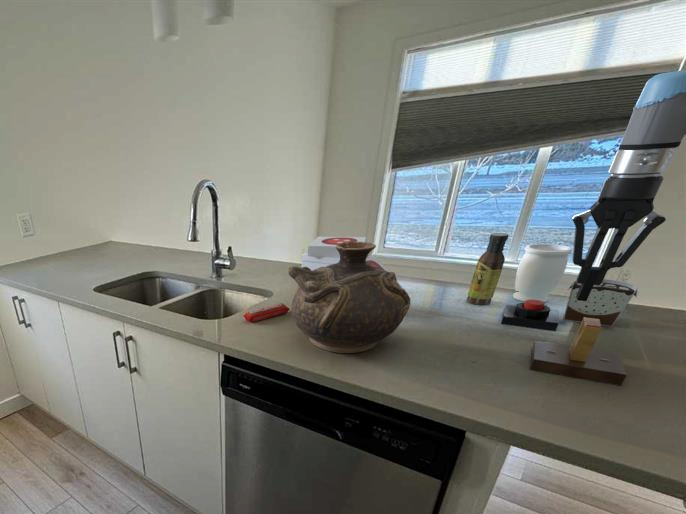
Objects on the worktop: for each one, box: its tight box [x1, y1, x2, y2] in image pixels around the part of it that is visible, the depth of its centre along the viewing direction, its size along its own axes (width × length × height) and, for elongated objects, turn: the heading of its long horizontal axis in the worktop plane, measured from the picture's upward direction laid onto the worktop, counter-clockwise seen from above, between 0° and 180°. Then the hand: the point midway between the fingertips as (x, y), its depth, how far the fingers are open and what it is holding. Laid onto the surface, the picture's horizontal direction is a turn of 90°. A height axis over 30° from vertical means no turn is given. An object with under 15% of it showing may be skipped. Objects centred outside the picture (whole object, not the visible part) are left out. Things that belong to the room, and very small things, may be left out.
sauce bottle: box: [466, 232, 509, 306], centre depth 117 cm, size 6×6×20 cm
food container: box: [562, 278, 639, 328], centre depth 103 cm, size 12×6×10 cm, turn 48°
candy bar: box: [242, 302, 291, 323], centre depth 125 cm, size 16×4×3 cm, turn 114°
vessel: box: [287, 241, 411, 354], centre depth 101 cm, size 27×28×25 cm
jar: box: [512, 243, 574, 303], centre depth 117 cm, size 11×10×15 cm
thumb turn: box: [569, 317, 603, 362], centre depth 83 cm, size 6×2×8 cm, turn 142°
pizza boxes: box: [301, 235, 406, 291], centre depth 129 cm, size 19×30×18 cm, turn 41°
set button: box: [523, 300, 546, 310], centre depth 105 cm, size 4×4×2 cm
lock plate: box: [529, 340, 628, 387], centre depth 86 cm, size 14×11×3 cm
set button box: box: [500, 302, 559, 332], centre depth 107 cm, size 11×10×4 cm
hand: (581, 298), depth 86 cm, fingers closed
